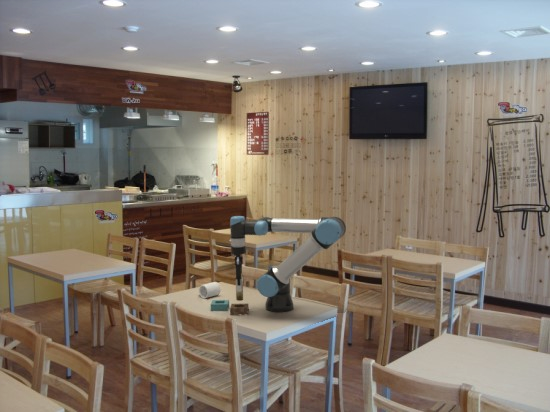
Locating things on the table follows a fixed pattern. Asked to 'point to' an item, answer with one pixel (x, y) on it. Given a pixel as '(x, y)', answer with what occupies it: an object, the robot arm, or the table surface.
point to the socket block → (219, 305)
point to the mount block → (239, 309)
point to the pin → (240, 294)
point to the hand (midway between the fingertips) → (239, 290)
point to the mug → (209, 290)
